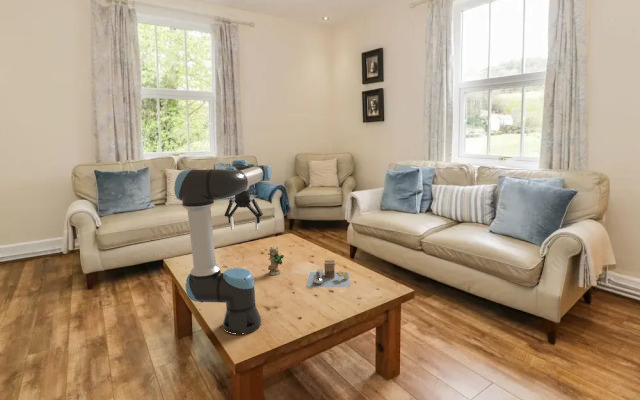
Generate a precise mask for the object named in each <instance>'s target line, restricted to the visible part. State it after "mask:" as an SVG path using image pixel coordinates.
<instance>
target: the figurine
mask: <svg viewBox="0 0 640 400" xmlns="http://www.w3.org/2000/svg"><path fill="white" fill-rule="evenodd" d="M267 255H269V258H268V260H269V261H270V265H268V267H267V270H268V271H269V272H268V274H269V276H278V275H280V274H281V270H280V269H279V265H282V264H283V261H282V259H284V254H279V247H278V246H270V247H269V251H268V253H267Z"/></svg>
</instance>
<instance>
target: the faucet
mask: <svg viewBox="0 0 640 400" xmlns="http://www.w3.org/2000/svg"><path fill="white" fill-rule="evenodd" d="M317 271H320V279H317V278H314V284H317V285H319V284H322V283H323V279H322V277H323V272H324V269H317ZM317 271H316V272H317Z"/></svg>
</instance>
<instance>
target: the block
mask: <svg viewBox="0 0 640 400" xmlns="http://www.w3.org/2000/svg"><path fill="white" fill-rule="evenodd" d="M323 265H324V272H325V278H334V276H335V272H336V271H335V270H336V269H335V260H334V259H325V260H324V264H323Z"/></svg>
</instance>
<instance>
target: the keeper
mask: <svg viewBox="0 0 640 400" xmlns="http://www.w3.org/2000/svg"><path fill="white" fill-rule="evenodd" d="M336 272H337V274H338V276H339V277H342V276H344V279H345V280H348V273H347V272H348V271H342V270H339V271H336Z"/></svg>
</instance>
